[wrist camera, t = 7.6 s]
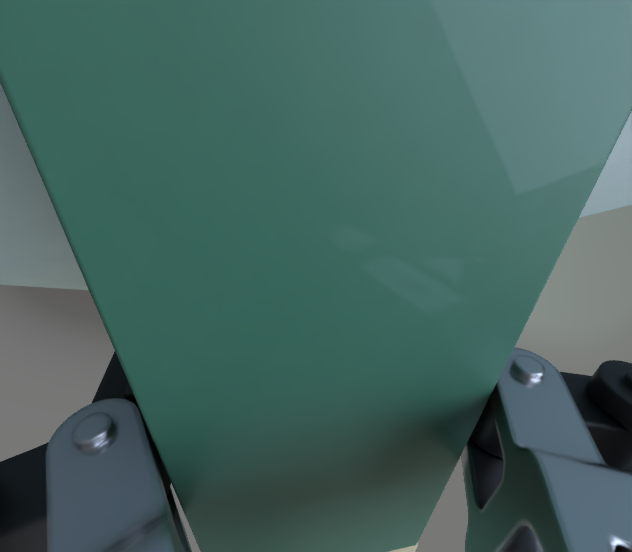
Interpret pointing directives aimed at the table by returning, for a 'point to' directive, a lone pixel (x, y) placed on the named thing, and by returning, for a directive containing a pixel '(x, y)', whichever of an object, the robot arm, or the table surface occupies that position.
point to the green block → (316, 229)
